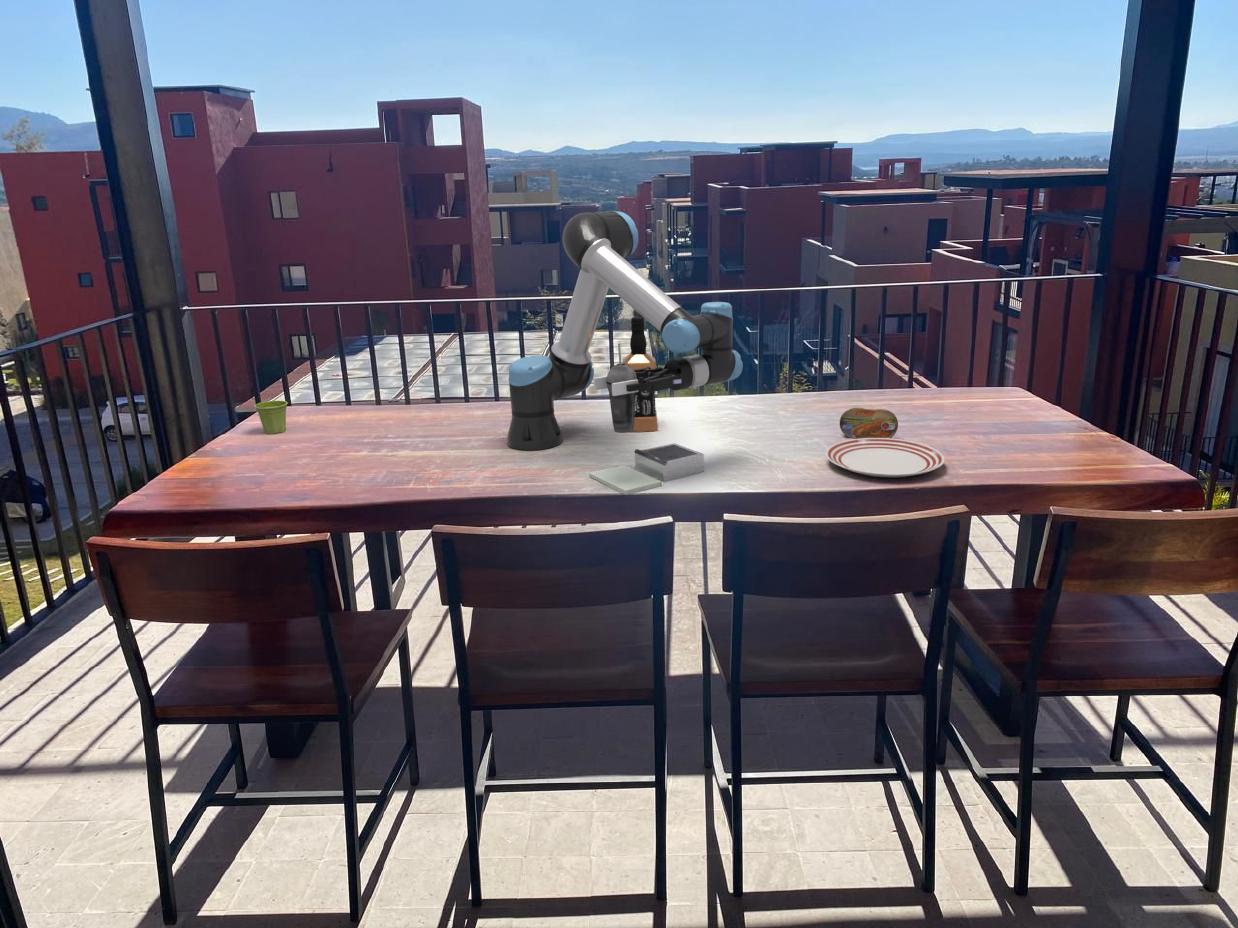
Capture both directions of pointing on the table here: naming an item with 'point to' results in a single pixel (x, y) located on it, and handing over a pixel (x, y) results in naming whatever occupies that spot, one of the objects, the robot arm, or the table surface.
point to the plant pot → (272, 416)
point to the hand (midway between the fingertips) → (603, 386)
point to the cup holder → (669, 462)
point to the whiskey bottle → (638, 360)
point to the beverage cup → (621, 397)
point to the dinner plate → (885, 457)
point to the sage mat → (625, 479)
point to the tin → (868, 423)
